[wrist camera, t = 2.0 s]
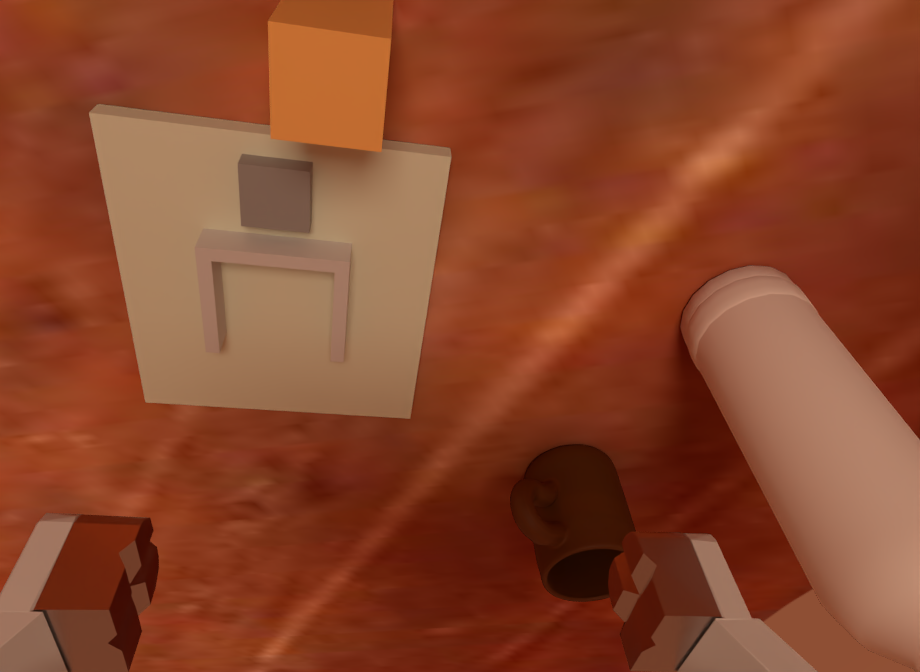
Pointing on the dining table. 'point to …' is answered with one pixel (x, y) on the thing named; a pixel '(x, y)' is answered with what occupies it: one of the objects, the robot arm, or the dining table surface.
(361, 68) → the orange rectangular block
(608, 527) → the mug
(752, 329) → the bottle
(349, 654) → the dining table surface
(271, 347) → the mount deck
